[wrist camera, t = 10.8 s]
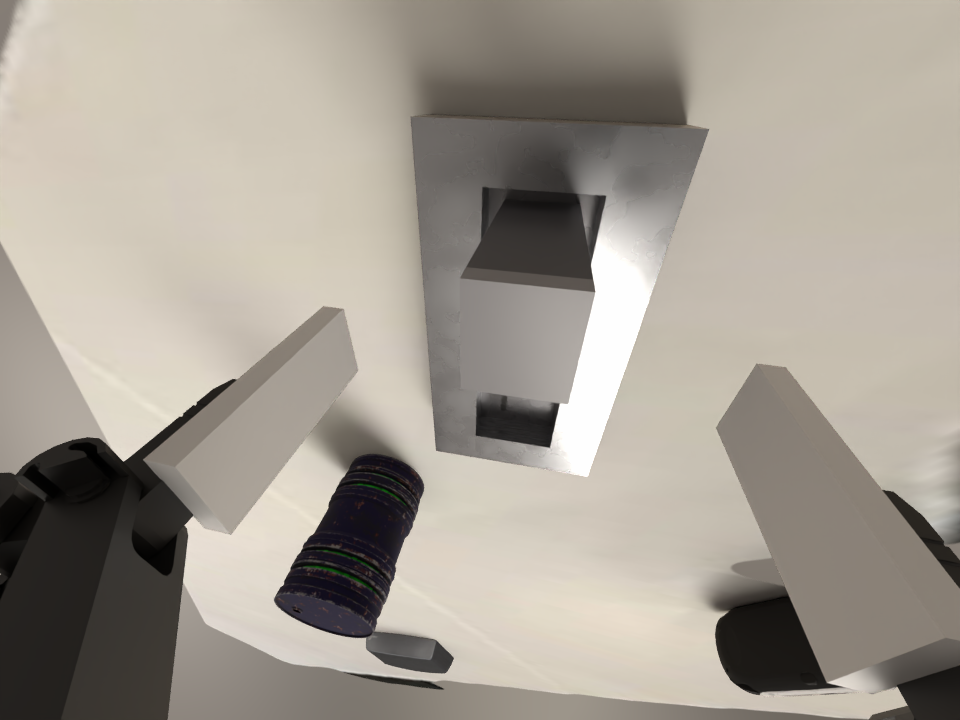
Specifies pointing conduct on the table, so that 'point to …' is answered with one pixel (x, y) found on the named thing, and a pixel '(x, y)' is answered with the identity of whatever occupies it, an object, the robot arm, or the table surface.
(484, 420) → the socket board
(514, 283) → the plug
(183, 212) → the table surface
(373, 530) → the storage jar
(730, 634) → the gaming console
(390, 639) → the external hard drive
